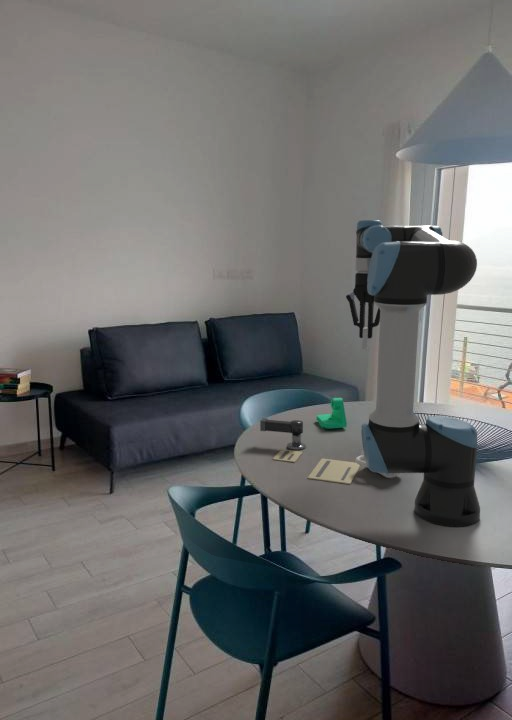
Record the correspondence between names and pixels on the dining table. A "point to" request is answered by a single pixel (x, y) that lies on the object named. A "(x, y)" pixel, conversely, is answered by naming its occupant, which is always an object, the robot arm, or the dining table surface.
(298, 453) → the label card
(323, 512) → the dining table surface
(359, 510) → the dining table surface
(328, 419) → the camera mount
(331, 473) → the label card
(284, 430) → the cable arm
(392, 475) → the mug
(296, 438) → the grey mushroom knob
